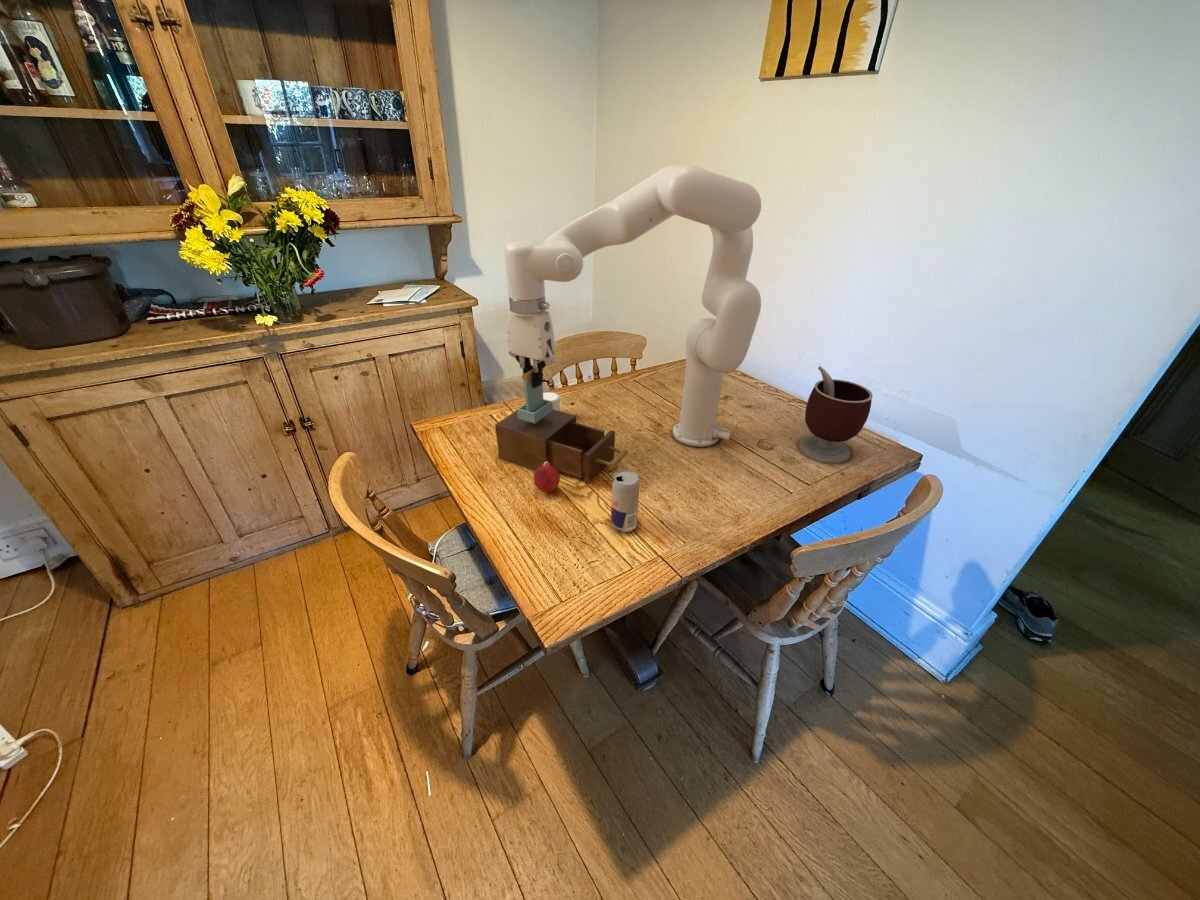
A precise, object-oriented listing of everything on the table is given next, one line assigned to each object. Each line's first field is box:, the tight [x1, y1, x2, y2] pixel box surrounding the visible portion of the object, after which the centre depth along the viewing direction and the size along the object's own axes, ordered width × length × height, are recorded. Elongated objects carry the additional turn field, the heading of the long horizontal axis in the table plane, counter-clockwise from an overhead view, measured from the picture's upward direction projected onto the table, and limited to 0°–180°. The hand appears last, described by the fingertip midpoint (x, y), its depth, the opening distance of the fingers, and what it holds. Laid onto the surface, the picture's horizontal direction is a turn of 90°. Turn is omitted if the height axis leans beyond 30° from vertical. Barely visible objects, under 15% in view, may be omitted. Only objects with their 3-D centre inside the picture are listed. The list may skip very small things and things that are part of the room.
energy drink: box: [610, 469, 641, 533], centre depth 92 cm, size 5×5×12 cm
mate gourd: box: [798, 365, 873, 464], centre depth 115 cm, size 16×14×20 cm
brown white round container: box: [543, 391, 561, 411], centre depth 131 cm, size 7×7×7 cm
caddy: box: [516, 368, 553, 424], centre depth 108 cm, size 5×8×12 cm, turn 151°
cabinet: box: [494, 409, 577, 471], centre depth 115 cm, size 15×14×10 cm
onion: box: [533, 461, 561, 493], centre depth 102 cm, size 6×6×8 cm
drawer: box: [547, 421, 629, 485], centre depth 109 cm, size 18×12×8 cm
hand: (533, 384), depth 107 cm, fingers closed on caddy
